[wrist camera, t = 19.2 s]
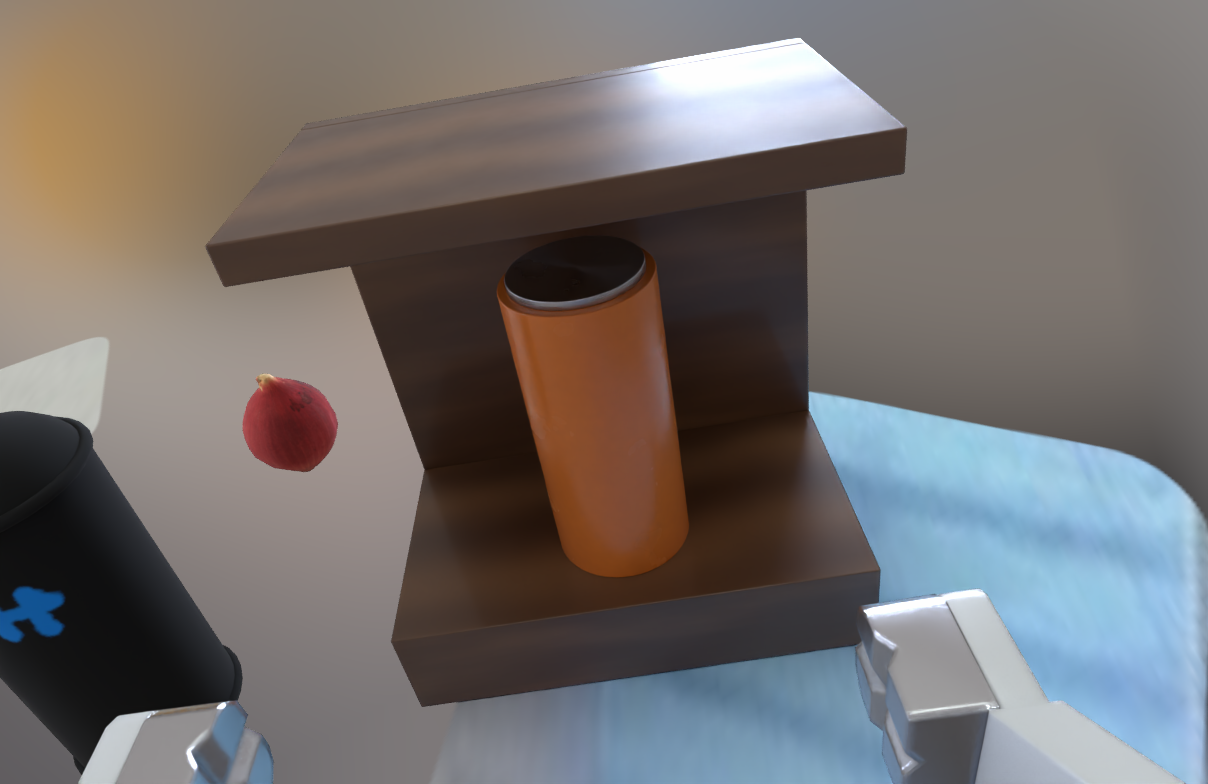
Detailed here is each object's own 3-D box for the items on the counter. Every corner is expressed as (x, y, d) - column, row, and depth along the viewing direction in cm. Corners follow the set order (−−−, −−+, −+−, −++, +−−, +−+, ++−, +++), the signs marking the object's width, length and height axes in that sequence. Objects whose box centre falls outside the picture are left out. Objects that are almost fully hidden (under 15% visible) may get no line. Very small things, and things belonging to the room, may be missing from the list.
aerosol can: (171, 628, 46) (-41, 326, 35) (277, 666, 43) (80, 346, 31) (40, 757, 40) (-265, 445, 29) (151, 814, 37) (-147, 485, 26)
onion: (337, 431, 60) (298, 339, 55) (362, 469, 56) (322, 372, 51) (259, 466, 58) (211, 373, 53) (279, 509, 53) (229, 412, 49)
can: (711, 503, 41) (683, 239, 32) (649, 595, 36) (599, 318, 28) (603, 472, 44) (553, 224, 36) (535, 553, 40) (460, 293, 31)
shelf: (876, 642, 38) (908, 126, 25) (421, 707, 39) (203, 246, 25) (805, 466, 49) (799, 37, 35) (448, 520, 50) (305, 123, 36)
